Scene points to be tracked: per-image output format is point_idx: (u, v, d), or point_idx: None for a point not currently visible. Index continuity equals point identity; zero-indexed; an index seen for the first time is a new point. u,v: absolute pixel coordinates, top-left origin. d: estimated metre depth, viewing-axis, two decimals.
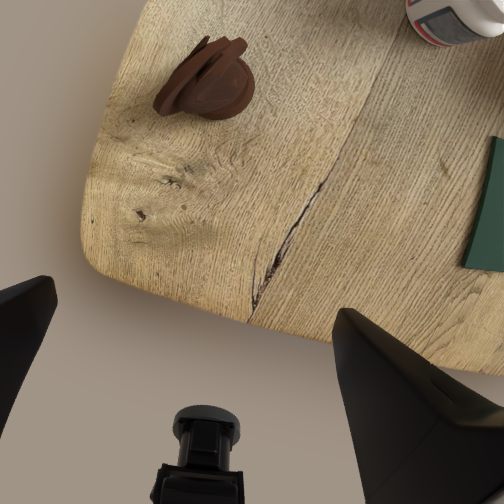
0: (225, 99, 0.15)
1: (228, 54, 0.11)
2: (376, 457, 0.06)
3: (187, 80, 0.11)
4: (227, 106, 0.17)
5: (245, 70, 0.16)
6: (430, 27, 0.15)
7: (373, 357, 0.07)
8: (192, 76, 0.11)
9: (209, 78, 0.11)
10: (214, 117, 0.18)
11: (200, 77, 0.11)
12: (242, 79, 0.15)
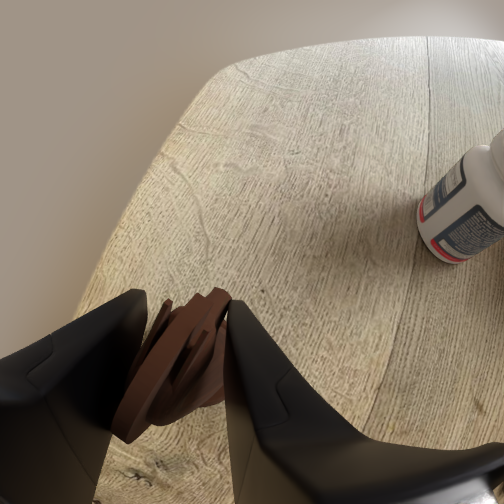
0: (218, 385, 0.10)
1: (211, 324, 0.07)
2: (235, 463, 0.06)
3: (156, 390, 0.06)
4: (221, 389, 0.12)
5: None
6: (451, 242, 0.16)
7: (232, 352, 0.07)
8: (163, 381, 0.06)
9: (193, 376, 0.07)
10: (207, 405, 0.13)
11: (177, 380, 0.06)
12: None
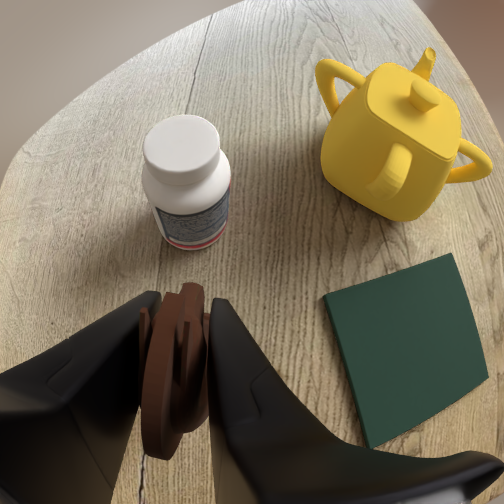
0: None
1: (192, 316, 0.07)
2: (214, 462, 0.06)
3: (168, 397, 0.06)
4: None
5: None
6: (174, 237, 0.21)
7: (212, 350, 0.07)
8: (170, 386, 0.06)
9: (196, 370, 0.07)
10: None
11: (183, 379, 0.06)
12: None
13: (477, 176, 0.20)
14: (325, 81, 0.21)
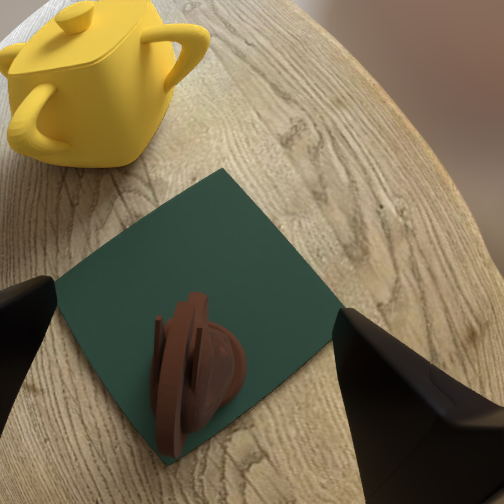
0: (228, 378, 0.11)
1: None
2: (376, 457, 0.06)
3: (180, 397, 0.07)
4: (232, 382, 0.13)
5: (217, 328, 0.14)
6: None
7: (373, 357, 0.07)
8: (182, 387, 0.07)
9: (205, 373, 0.07)
10: (227, 402, 0.14)
11: (194, 381, 0.07)
12: (225, 341, 0.12)
13: (191, 55, 0.15)
14: (6, 70, 0.14)
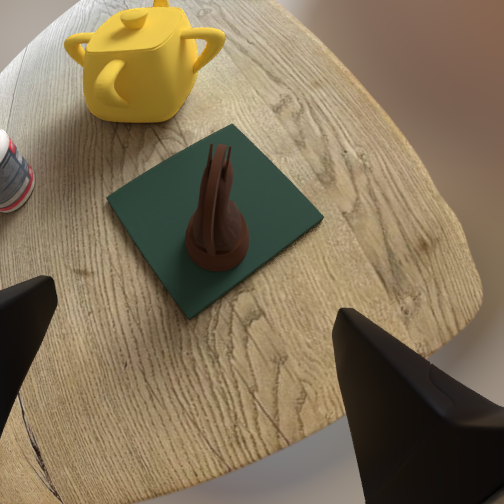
0: (238, 221, 0.19)
1: None
2: (376, 457, 0.06)
3: (218, 181, 0.15)
4: (240, 237, 0.21)
5: None
6: None
7: (373, 357, 0.07)
8: (219, 178, 0.15)
9: (230, 177, 0.15)
10: (235, 259, 0.22)
11: (225, 176, 0.15)
12: None
13: (213, 48, 0.23)
14: (73, 51, 0.22)
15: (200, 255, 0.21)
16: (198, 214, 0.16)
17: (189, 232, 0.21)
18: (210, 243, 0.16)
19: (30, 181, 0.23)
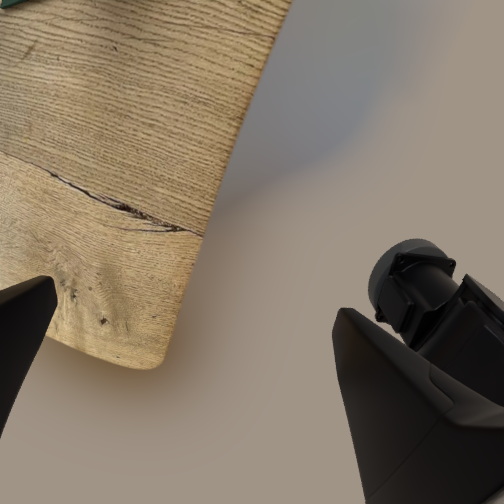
0: None
1: None
2: (376, 457, 0.06)
3: None
4: None
5: None
6: None
7: (373, 357, 0.07)
8: None
9: None
10: None
11: None
12: None
13: None
14: None
15: None
16: None
17: None
18: None
19: None
